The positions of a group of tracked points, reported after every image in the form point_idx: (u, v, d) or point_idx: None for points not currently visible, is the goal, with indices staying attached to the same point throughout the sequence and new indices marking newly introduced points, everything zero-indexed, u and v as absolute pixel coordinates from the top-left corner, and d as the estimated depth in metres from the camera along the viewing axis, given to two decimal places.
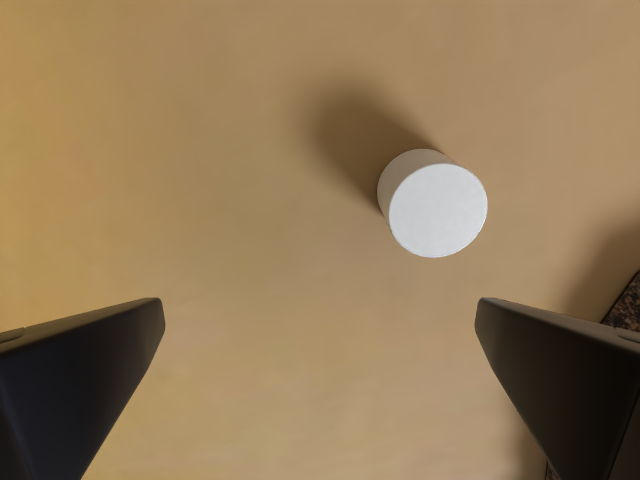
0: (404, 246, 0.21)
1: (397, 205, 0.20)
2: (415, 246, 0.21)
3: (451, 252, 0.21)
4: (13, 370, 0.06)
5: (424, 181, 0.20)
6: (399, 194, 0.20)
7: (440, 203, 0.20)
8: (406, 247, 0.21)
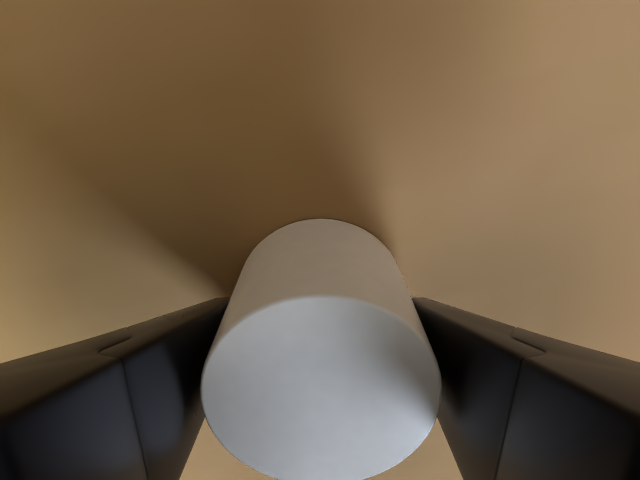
0: (235, 454, 0.09)
1: (223, 370, 0.08)
2: (260, 459, 0.09)
3: None
4: (138, 370, 0.06)
5: (294, 330, 0.08)
6: (229, 349, 0.08)
7: (328, 383, 0.08)
8: (239, 457, 0.09)
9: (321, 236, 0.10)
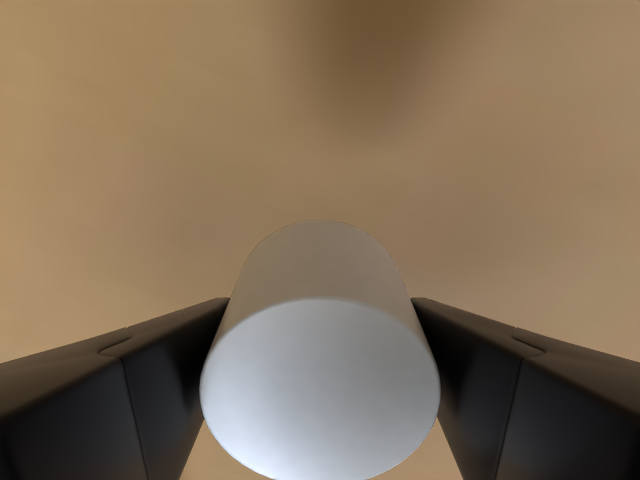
0: (234, 455, 0.09)
1: (222, 372, 0.08)
2: (259, 460, 0.09)
3: None
4: (138, 370, 0.06)
5: (293, 332, 0.08)
6: (228, 350, 0.08)
7: (327, 385, 0.08)
8: (238, 458, 0.09)
9: (320, 237, 0.10)
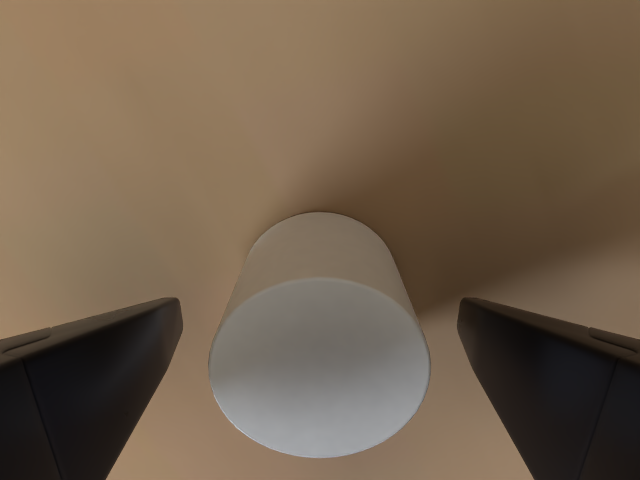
0: (240, 428, 0.10)
1: (230, 348, 0.09)
2: (264, 432, 0.10)
3: (339, 454, 0.10)
4: (45, 370, 0.06)
5: (295, 311, 0.09)
6: (236, 328, 0.09)
7: (326, 361, 0.09)
8: (244, 431, 0.10)
9: (320, 227, 0.11)
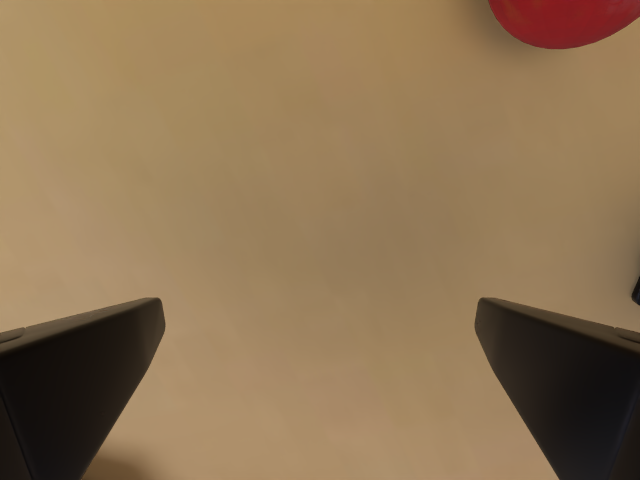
0: None
1: None
2: None
3: None
4: (13, 370, 0.06)
5: None
6: None
7: None
8: None
9: None
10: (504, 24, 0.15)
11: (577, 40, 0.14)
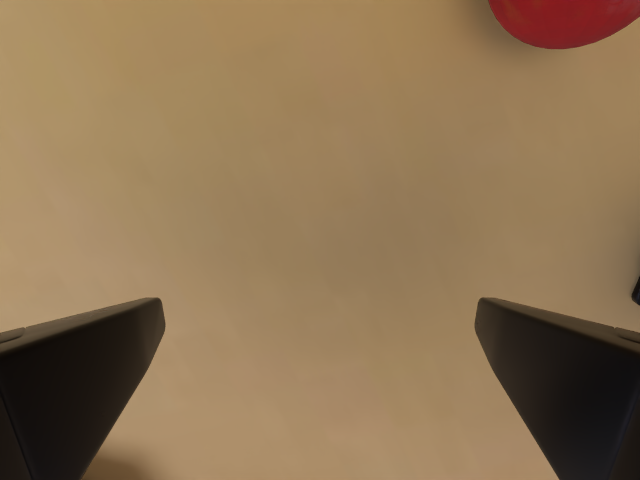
0: None
1: None
2: None
3: None
4: (13, 370, 0.06)
5: None
6: None
7: None
8: None
9: None
10: (504, 24, 0.15)
11: (577, 40, 0.14)
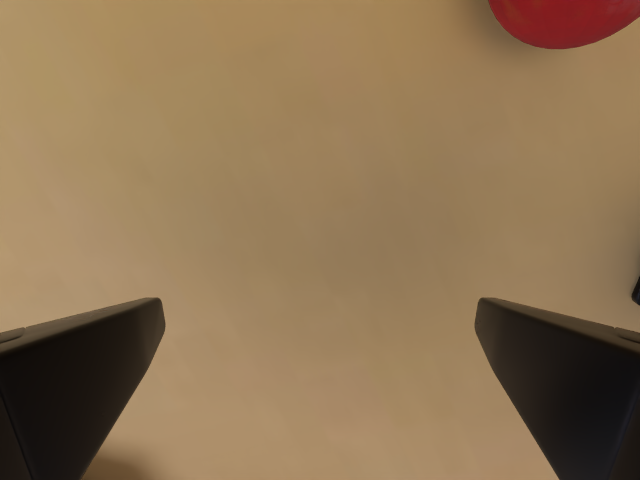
0: None
1: None
2: None
3: None
4: (13, 370, 0.06)
5: None
6: None
7: None
8: None
9: None
10: (504, 24, 0.15)
11: (577, 40, 0.14)
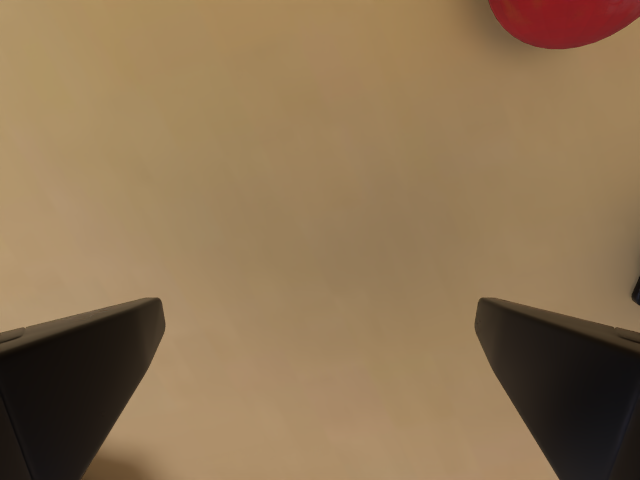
0: None
1: None
2: None
3: None
4: (13, 370, 0.06)
5: None
6: None
7: None
8: None
9: None
10: (504, 24, 0.15)
11: (577, 40, 0.14)
